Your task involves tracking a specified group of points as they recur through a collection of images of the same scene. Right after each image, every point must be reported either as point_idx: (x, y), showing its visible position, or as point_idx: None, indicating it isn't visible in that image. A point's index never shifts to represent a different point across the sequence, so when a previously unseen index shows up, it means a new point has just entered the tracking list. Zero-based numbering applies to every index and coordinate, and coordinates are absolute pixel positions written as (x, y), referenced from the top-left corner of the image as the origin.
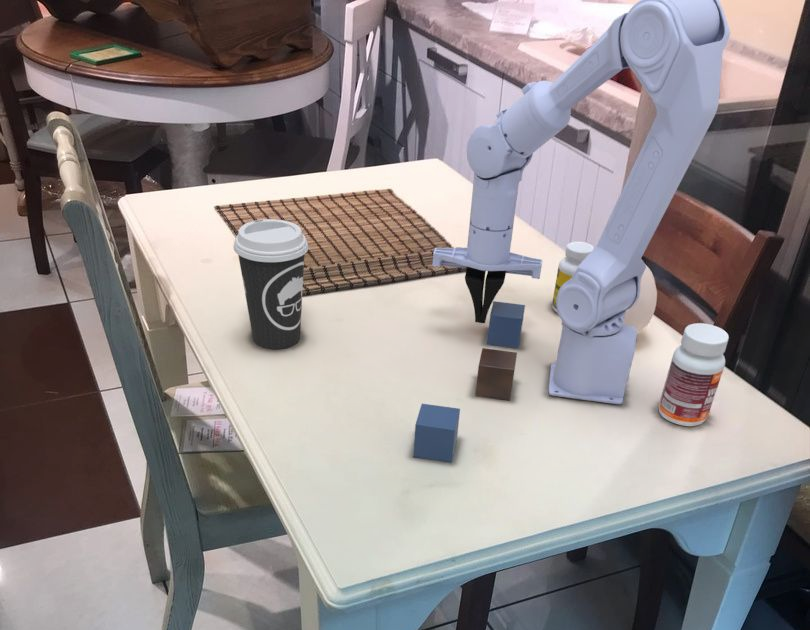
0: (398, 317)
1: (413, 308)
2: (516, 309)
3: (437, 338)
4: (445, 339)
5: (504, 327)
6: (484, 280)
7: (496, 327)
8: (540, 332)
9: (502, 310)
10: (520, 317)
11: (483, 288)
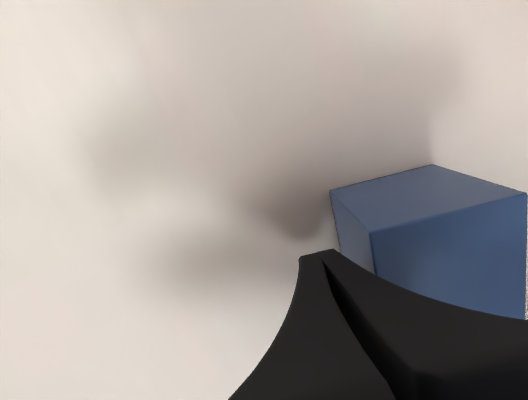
0: (26, 257)
1: (23, 173)
2: (491, 259)
3: (202, 312)
4: (225, 306)
5: None
6: (351, 333)
7: None
8: (498, 117)
9: (429, 296)
10: (515, 317)
11: (338, 308)
